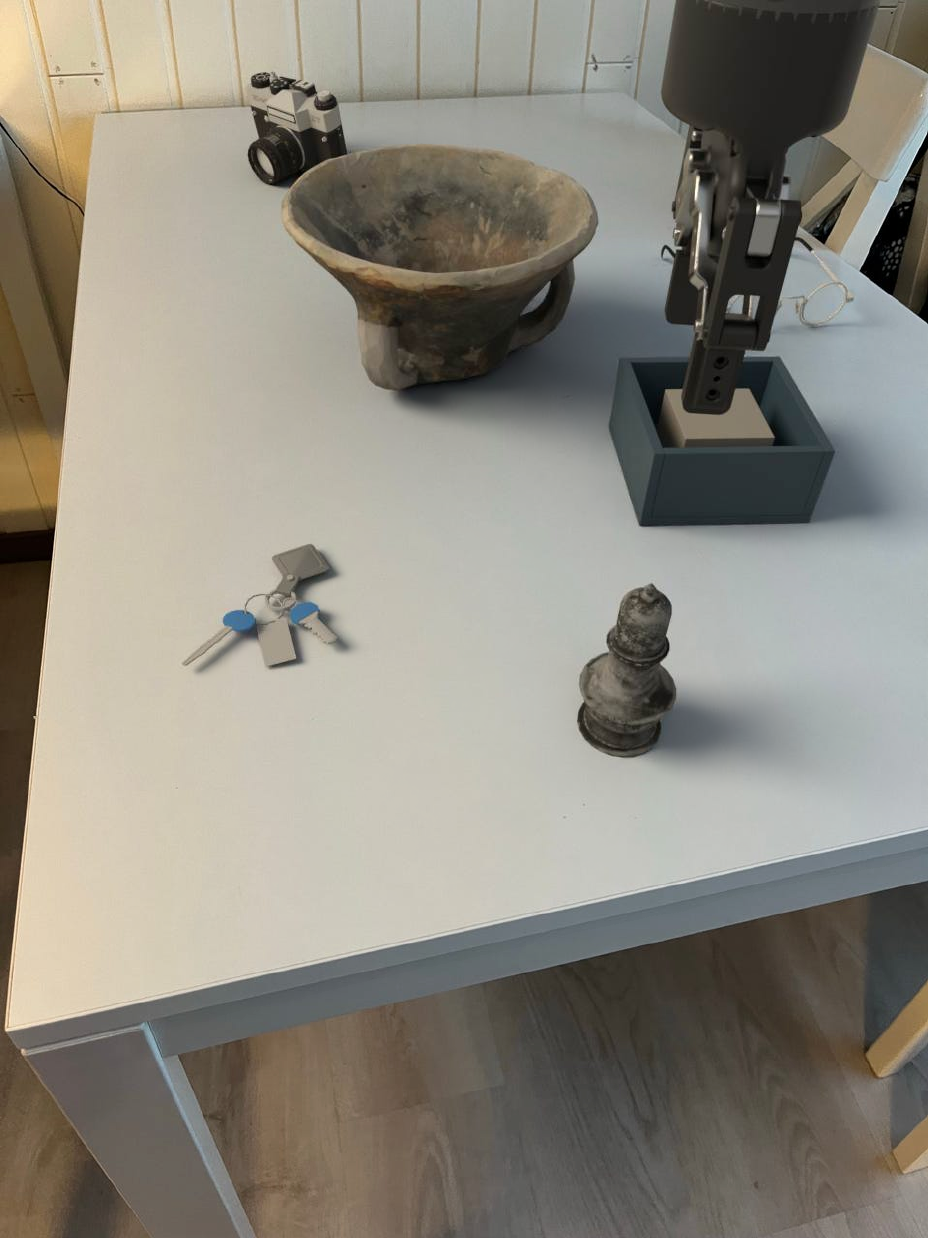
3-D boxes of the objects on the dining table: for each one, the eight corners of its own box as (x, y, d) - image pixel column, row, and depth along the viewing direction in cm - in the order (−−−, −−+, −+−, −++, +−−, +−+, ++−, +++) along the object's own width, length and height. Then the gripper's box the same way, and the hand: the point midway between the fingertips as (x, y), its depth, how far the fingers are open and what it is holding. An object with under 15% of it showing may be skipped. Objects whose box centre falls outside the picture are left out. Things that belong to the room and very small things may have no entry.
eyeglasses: (711, 340, 95) (722, 293, 91) (648, 258, 108) (655, 213, 104) (857, 329, 98) (873, 282, 94) (778, 250, 110) (790, 206, 107)
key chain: (289, 541, 71) (288, 532, 70) (389, 572, 69) (389, 564, 68) (181, 668, 62) (178, 660, 61) (292, 709, 60) (291, 700, 59)
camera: (225, 175, 124) (201, 95, 116) (285, 138, 128) (266, 59, 120) (302, 207, 117) (282, 125, 109) (362, 167, 122) (348, 86, 114)
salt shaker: (570, 685, 62) (594, 545, 54) (660, 689, 62) (698, 550, 54) (574, 758, 58) (601, 619, 49) (671, 763, 58) (714, 624, 49)
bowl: (442, 475, 78) (446, 302, 67) (238, 355, 90) (214, 192, 79) (633, 357, 92) (662, 199, 82) (435, 267, 104) (437, 119, 94)
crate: (759, 425, 84) (779, 355, 80) (809, 523, 75) (836, 451, 70) (607, 426, 83) (619, 357, 79) (639, 526, 74) (654, 453, 69)
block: (735, 439, 81) (749, 388, 78) (758, 489, 76) (775, 437, 73) (654, 440, 81) (665, 388, 77) (673, 491, 76) (685, 438, 72)
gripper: (935, 35, 31) (795, 451, 42) (839, -56, 41) (747, 300, 52) (703, 22, 31) (626, 440, 43) (664, -65, 41) (610, 292, 53)
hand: (693, 362), depth 47 cm, fingers open, 8 cm apart
